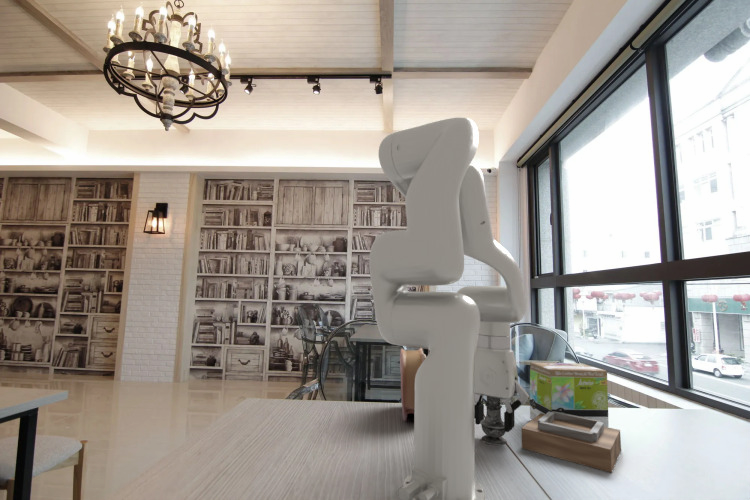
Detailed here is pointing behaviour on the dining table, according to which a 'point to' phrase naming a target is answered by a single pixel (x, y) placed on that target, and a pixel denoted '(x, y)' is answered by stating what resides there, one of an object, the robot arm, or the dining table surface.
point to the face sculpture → (409, 378)
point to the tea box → (569, 390)
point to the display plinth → (573, 439)
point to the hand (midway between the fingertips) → (493, 425)
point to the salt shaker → (493, 423)
